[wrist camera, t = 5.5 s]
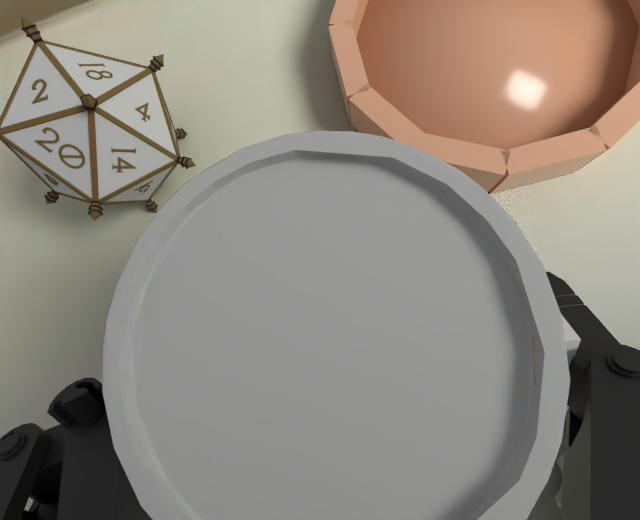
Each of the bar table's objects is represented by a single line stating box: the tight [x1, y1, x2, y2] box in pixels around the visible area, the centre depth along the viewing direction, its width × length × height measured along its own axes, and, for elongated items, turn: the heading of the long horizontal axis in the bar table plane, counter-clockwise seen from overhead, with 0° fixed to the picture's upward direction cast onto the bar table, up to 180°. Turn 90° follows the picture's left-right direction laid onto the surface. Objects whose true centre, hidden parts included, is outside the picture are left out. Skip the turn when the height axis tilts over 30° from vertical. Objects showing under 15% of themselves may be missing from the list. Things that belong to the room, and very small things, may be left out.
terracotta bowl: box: [328, 0, 640, 194], centre depth 18 cm, size 16×16×2 cm
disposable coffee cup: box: [103, 131, 570, 520], centre depth 12 cm, size 10×10×12 cm
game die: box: [0, 16, 196, 221], centre depth 17 cm, size 9×8×10 cm
